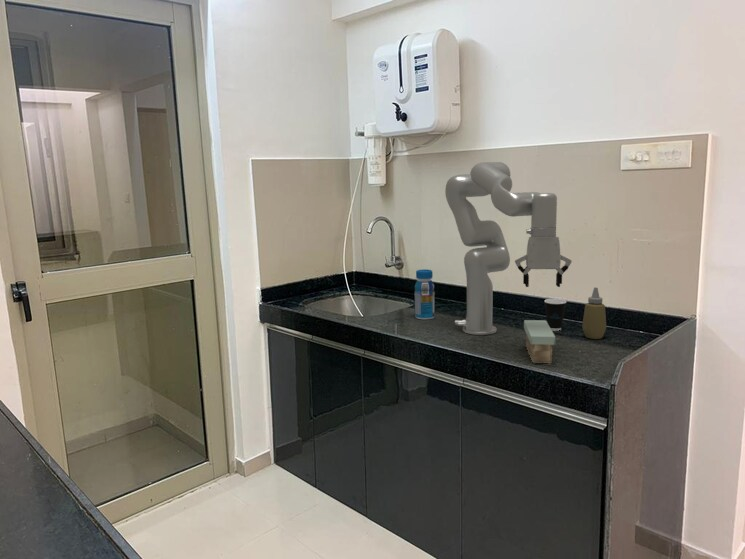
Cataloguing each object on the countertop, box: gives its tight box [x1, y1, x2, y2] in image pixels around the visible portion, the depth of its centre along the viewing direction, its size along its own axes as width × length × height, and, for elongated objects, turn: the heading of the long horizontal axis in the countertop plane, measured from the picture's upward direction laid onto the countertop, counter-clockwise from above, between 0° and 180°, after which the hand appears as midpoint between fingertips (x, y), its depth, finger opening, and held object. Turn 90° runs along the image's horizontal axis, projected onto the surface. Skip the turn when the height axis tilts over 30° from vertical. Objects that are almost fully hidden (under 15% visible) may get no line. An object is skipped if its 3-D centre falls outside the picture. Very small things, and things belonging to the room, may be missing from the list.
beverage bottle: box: [414, 268, 436, 321], centre depth 235 cm, size 8×8×20 cm
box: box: [525, 333, 553, 364], centre depth 183 cm, size 6×19×8 cm, turn 171°
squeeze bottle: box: [581, 287, 607, 340], centre depth 200 cm, size 8×8×18 cm
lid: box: [523, 319, 556, 346], centre depth 182 cm, size 7×20×2 cm, turn 171°
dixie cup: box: [544, 298, 567, 332], centre depth 212 cm, size 8×8×11 cm
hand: (542, 286), depth 180 cm, fingers open, 9 cm apart
